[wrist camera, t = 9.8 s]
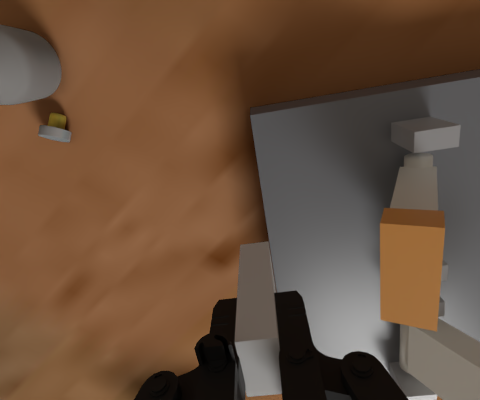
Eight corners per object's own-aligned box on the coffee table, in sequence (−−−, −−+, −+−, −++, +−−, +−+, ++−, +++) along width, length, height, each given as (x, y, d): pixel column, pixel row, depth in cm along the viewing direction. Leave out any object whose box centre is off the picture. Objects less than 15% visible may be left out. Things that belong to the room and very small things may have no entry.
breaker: (391, 366, 27) (530, 478, 19) (392, 309, 25) (550, 409, 17) (410, 352, 28) (551, 453, 20) (413, 296, 26) (571, 384, 18)
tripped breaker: (396, 232, 24) (380, 324, 16) (398, 153, 21) (379, 217, 14) (435, 236, 23) (436, 336, 15) (440, 152, 20) (445, 221, 13)
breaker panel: (288, 360, 34) (297, 431, 27) (250, 107, 24) (250, 123, 18) (488, 340, 32) (550, 411, 26) (533, 60, 23) (650, 57, 16)
